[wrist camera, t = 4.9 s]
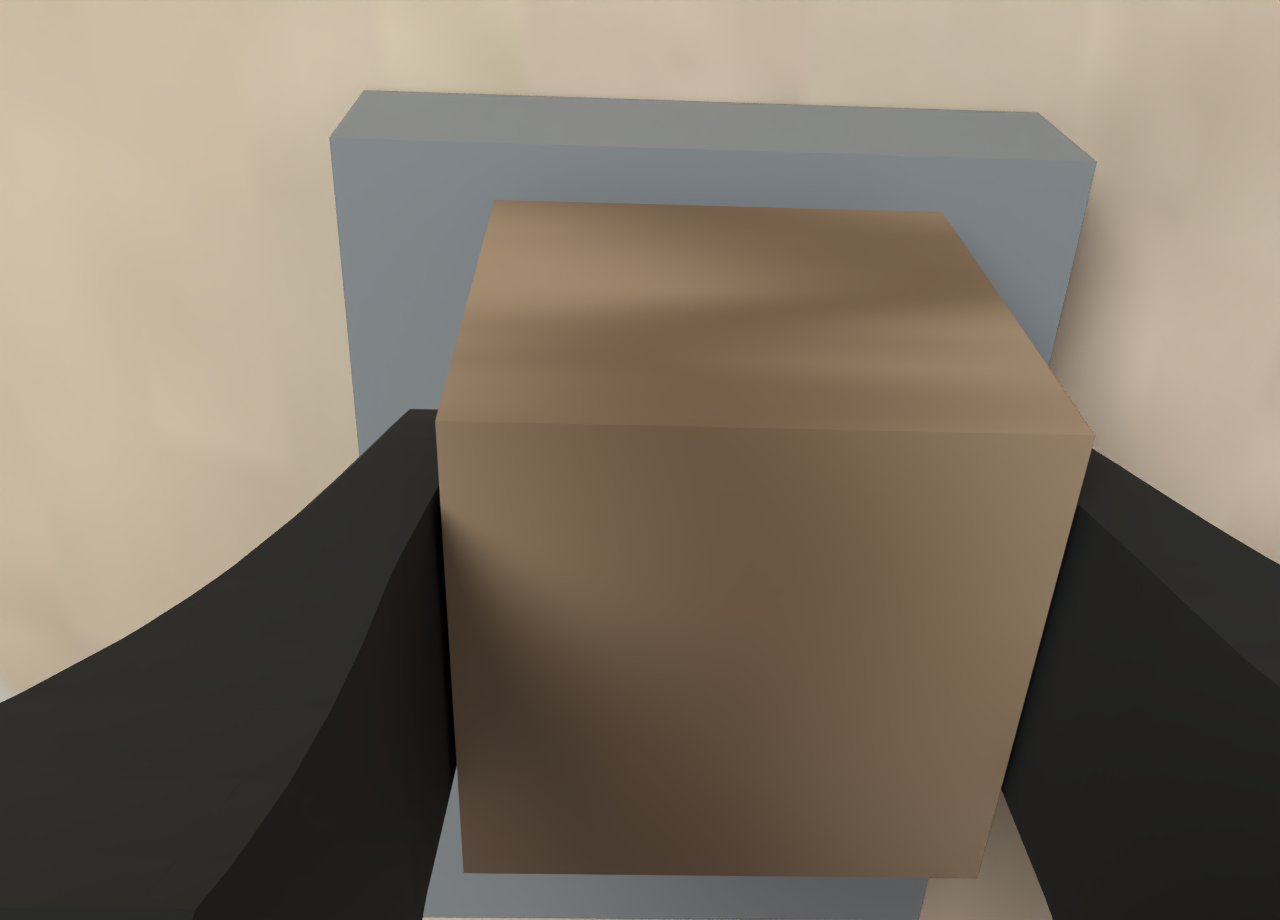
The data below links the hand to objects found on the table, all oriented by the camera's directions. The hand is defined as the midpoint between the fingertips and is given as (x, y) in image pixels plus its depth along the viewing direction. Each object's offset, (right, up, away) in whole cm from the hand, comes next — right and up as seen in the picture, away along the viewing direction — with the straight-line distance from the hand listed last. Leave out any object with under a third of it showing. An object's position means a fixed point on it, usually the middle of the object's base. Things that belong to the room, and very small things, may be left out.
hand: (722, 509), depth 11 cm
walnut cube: (0, +1, +2) cm, 2 cm away
